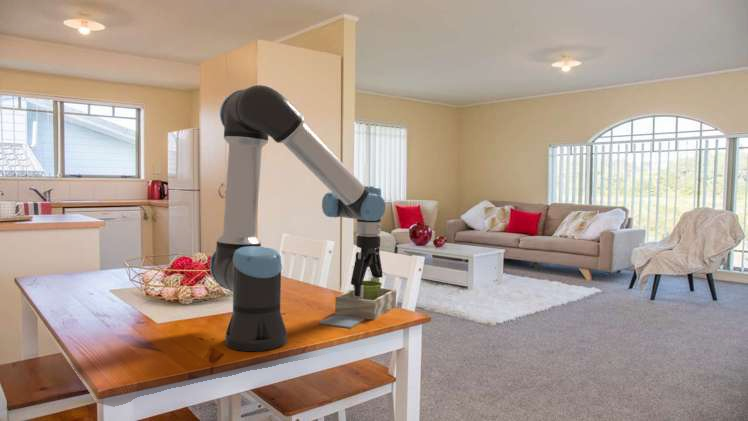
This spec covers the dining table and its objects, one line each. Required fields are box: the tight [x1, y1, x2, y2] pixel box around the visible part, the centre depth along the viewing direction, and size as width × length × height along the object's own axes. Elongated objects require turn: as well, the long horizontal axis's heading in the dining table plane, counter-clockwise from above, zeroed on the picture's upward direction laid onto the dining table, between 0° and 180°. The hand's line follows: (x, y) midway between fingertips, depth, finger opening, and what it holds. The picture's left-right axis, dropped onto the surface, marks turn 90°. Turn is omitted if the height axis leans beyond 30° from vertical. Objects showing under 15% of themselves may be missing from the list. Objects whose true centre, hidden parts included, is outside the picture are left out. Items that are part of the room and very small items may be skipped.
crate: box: [334, 287, 397, 320], centre depth 167 cm, size 19×13×6 cm
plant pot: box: [362, 280, 383, 300], centre depth 167 cm, size 9×9×9 cm
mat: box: [318, 314, 366, 329], centre depth 153 cm, size 10×10×1 cm
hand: (366, 301), depth 167 cm, fingers open, 13 cm apart
